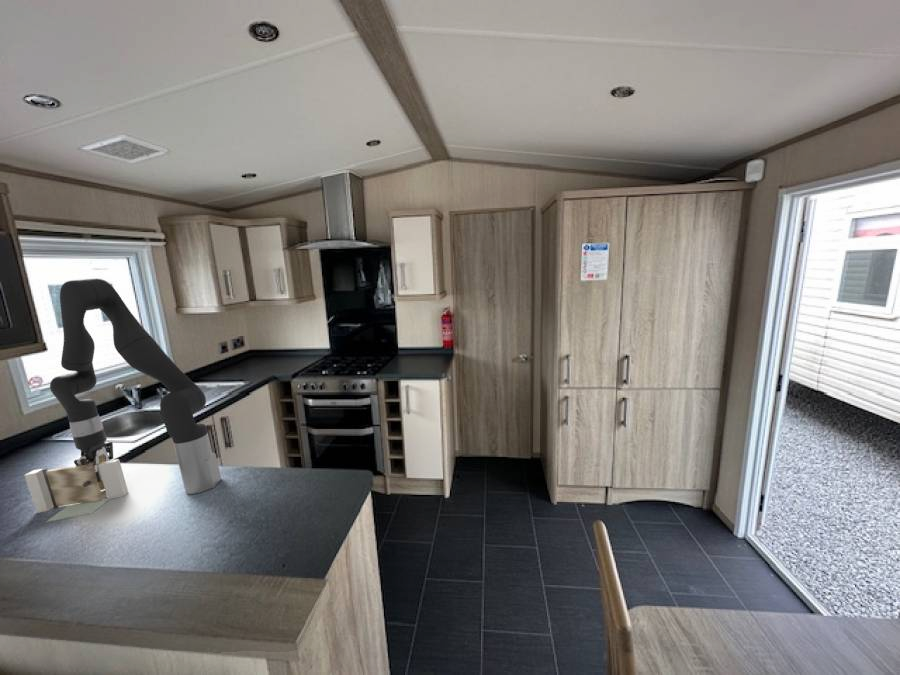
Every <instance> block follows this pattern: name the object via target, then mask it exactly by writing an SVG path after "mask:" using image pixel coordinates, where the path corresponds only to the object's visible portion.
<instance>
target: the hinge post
mask: <svg viewBox="0 0 900 675" xmlns="http://www.w3.org/2000/svg"><path fill="white" fill-rule="evenodd" d="M44 469H45V468H39V469H33V470H31V471H29V472H27V473H25V474H24V478H25V482H26V484H27V488H28V490H29V494H30V496H31V497H30V498H31V499H32V503H33V507H34V510H35V512H36V514H39V513H45V512H48V511H50V510H52V509H53V508H54V506H53V503H52V499H51V496H50V493H49V490H48V487H47V484H46V480H45V477H44V474H43V471H42V470H44Z"/></svg>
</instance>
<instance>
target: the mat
mask: <svg viewBox="0 0 900 675" xmlns="http://www.w3.org/2000/svg"><path fill="white" fill-rule="evenodd" d="M111 499H112V498H107V497H106V498H102V499H101V500H98V501H91V502H84V503H77V504H70V505H66V506H65V507H64V508H62V510H60V511H58V512H57V513H56V514H54V515H53V516H52V517H50V518H49V519H47V520H46V523H49V522H54V521H59V520H64V519H70V518H74V517H80V516H85V515H91V514H94V513H95V512H97V510H99V509H100V508H101V507H102V506H103V505H105V504H106V503H107V502H108V501H110V500H111Z"/></svg>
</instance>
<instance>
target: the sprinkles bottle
mask: <svg viewBox="0 0 900 675" xmlns="http://www.w3.org/2000/svg"><path fill="white" fill-rule="evenodd" d="M98 457H99V464H100V463H102V462H105V461H106V460H105V457H104V452H103V449H99V455H98ZM88 463H94V461H93V462H88ZM99 464H98V465H99ZM98 465H97V468H98V472H99V476H100V479H101V481H100V482H98V483H99V487H100V490H101V491H103V490H105V488H104V484H103V481H102V477H101V474H100V470H99V467H98Z"/></svg>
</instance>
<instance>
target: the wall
mask: <svg viewBox="0 0 900 675" xmlns="http://www.w3.org/2000/svg"><path fill="white" fill-rule="evenodd" d="M98 467H99V470H100V474H101V477H102V481H103V484H104V488H105V489H104V491H105V494H106V498H111V499H116V498H121V497H125V496H126V495H128V494H129V490H128V485H127V483H126V479H125V475H124V471H123V469H122V468H123V467H122V465H121V462H120V459H118V458H117V459H111V460H110V461H105V462H102V463H100V464H99V465H98Z"/></svg>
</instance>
